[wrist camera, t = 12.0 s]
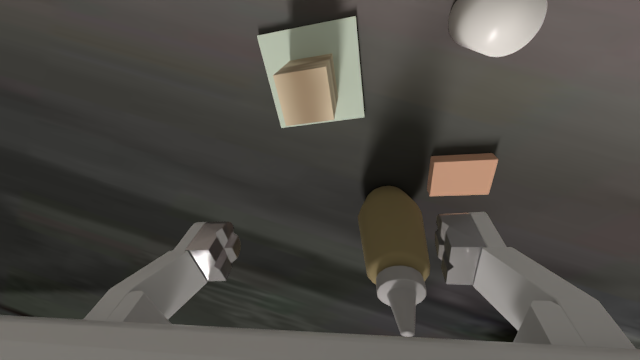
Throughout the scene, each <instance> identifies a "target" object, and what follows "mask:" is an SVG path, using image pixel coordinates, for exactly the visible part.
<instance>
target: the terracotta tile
mask: <svg viewBox="0 0 640 360" xmlns="http://www.w3.org/2000/svg"><path fill="white" fill-rule="evenodd" d="M497 163H498V158H497V157H496V156H495V155H494V154H493V153H482V154H462V155H443V156H431V160H430V168H429V177H428V185H427V190H428V193H429V195H430V196H453V195H486V194H489V191H490V188H491V184H492V181H493V177H494V173H495V170H496V166H497Z"/></svg>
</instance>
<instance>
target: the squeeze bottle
mask: <svg viewBox="0 0 640 360" xmlns="http://www.w3.org/2000/svg"><path fill="white" fill-rule="evenodd" d="M358 221H359V228H360V234H361V240H362V246H363V252H364V259H365V265H366V271H367V276H368V277H369V279H370V280H371V281H372V282H373V283H374V284H376V287H377V297H378V298H379V299H380V300H381V301H382V302H383V303H385V304H387V305H389V306H391V308H392V311H393V314H394V316H395V319H396V322H397V325H398V328H399V331H400V333H401V335H402V336H405V337H411V336H413V335H414V334H415V308H416V304H418V303H420V302H422V300H423V299H424V298H425V297H426V287H425V283H424V281H425V280H426V279H427V277H428V276H429V274H430V263H429V257H428V250H427V244H426V238H425V232H424V225H423V219H422V213H421V211H420V209H419V207H418V206H417V204H416V203H415V202H414V201H413V200H412V199H411V198H410V197H409V196H408V195H407V194H406V193H405V192H404V191H402V190H401V189H399V188H397V187H393V186H382V187H379V188H377V189H374V190H373V191H372V192H371V193H370V194H369V195H368V196H367V198H366V200H365V202H364V204H363V206H362V208H361V210H360V213H359V215H358Z"/></svg>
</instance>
